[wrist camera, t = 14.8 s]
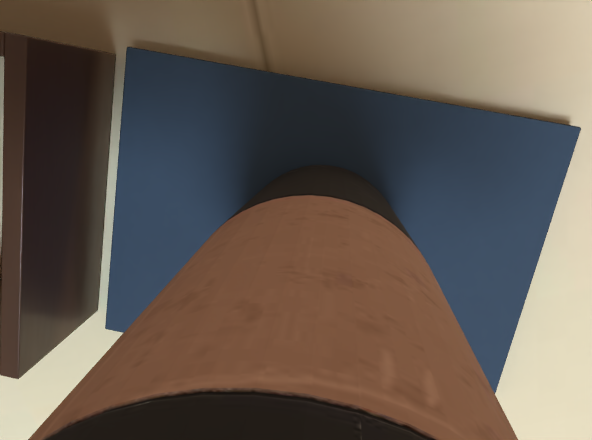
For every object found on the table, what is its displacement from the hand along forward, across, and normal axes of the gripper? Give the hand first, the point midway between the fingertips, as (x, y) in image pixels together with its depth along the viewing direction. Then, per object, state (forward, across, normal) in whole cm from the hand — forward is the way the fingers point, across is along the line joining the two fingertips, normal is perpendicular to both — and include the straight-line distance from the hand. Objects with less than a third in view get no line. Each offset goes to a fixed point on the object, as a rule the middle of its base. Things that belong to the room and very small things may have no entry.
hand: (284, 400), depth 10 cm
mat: (+14, 0, 0) cm, 14 cm away
